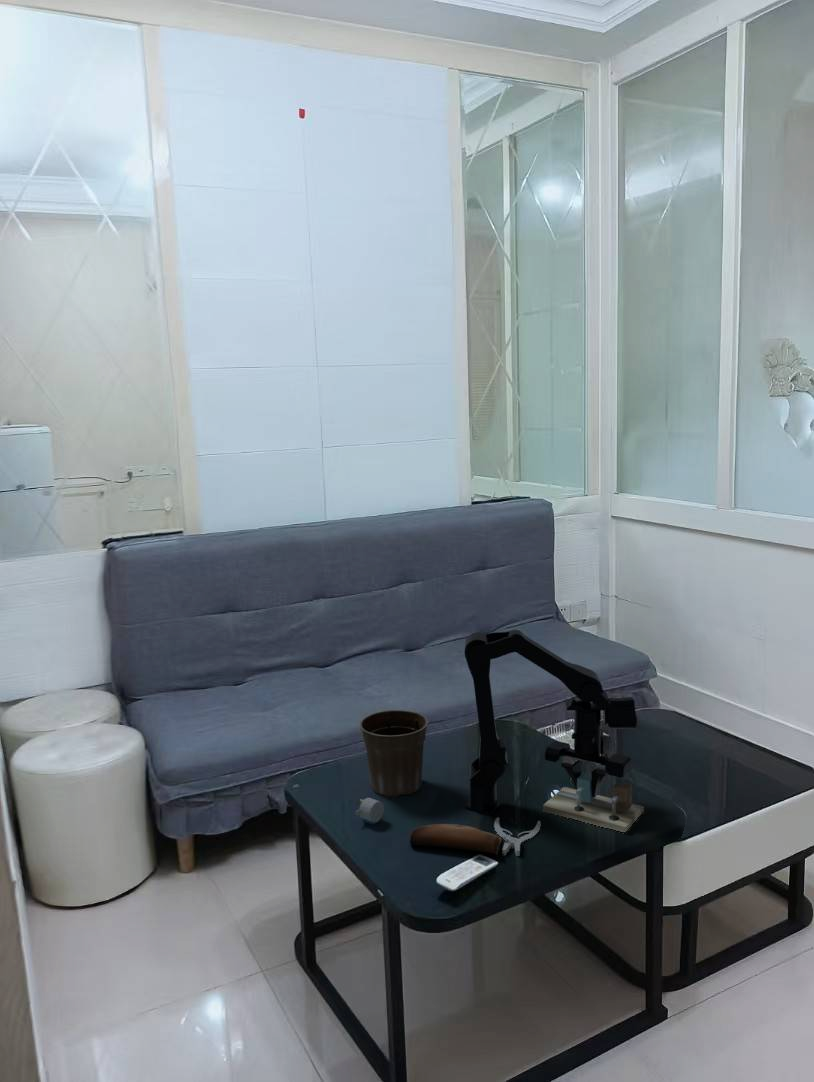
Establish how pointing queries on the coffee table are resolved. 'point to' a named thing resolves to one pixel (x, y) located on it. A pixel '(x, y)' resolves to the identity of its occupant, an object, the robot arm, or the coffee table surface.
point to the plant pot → (394, 750)
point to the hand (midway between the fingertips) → (587, 794)
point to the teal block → (584, 788)
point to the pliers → (513, 841)
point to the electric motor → (370, 810)
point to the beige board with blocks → (598, 807)
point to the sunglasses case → (456, 837)
